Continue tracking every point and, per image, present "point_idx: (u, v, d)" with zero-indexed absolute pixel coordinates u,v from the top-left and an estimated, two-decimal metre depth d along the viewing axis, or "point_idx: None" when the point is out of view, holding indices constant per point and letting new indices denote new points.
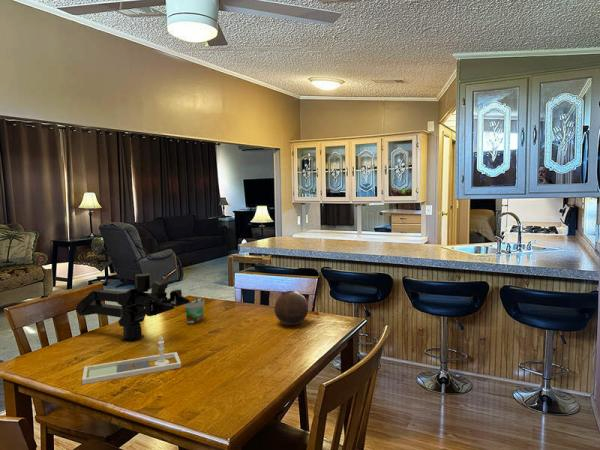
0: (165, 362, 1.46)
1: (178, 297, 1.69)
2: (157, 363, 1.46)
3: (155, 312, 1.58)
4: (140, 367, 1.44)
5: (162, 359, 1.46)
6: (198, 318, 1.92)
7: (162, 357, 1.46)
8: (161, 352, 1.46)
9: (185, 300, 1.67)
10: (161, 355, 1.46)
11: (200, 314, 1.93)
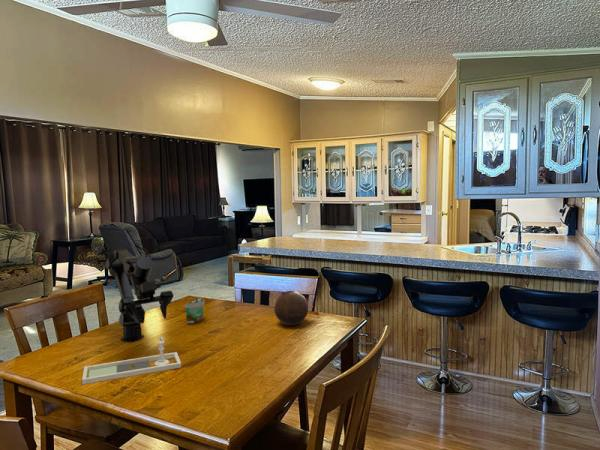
0: (165, 362, 1.46)
1: (162, 304, 1.58)
2: (157, 363, 1.46)
3: (126, 312, 1.52)
4: (140, 367, 1.44)
5: (162, 359, 1.46)
6: (198, 318, 1.92)
7: (162, 357, 1.46)
8: (161, 352, 1.46)
9: (163, 313, 1.56)
10: (161, 355, 1.46)
11: (200, 314, 1.93)
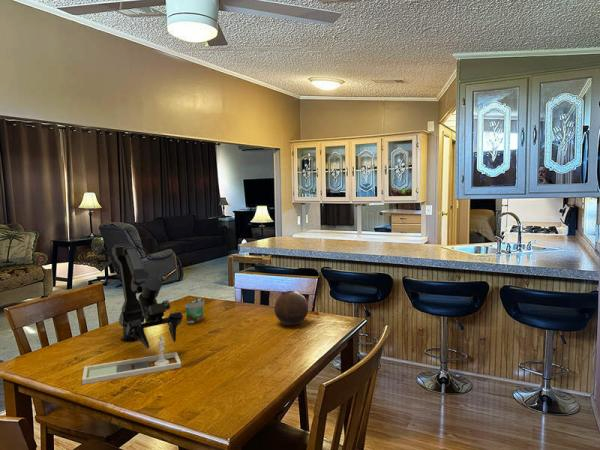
0: (165, 362, 1.46)
1: (171, 326, 1.51)
2: (157, 363, 1.46)
3: (134, 335, 1.46)
4: (140, 367, 1.44)
5: (162, 359, 1.46)
6: (198, 318, 1.92)
7: (162, 357, 1.46)
8: (161, 352, 1.46)
9: (173, 336, 1.49)
10: (161, 355, 1.46)
11: (200, 314, 1.93)
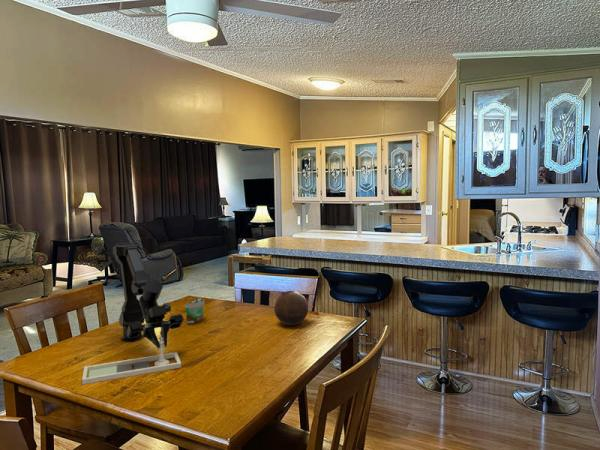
0: (165, 362, 1.46)
1: (163, 330, 1.49)
2: (157, 363, 1.46)
3: (145, 335, 1.47)
4: (140, 367, 1.44)
5: (162, 359, 1.46)
6: (198, 318, 1.92)
7: (162, 357, 1.46)
8: (161, 352, 1.46)
9: (164, 341, 1.47)
10: (161, 355, 1.46)
11: (200, 314, 1.93)
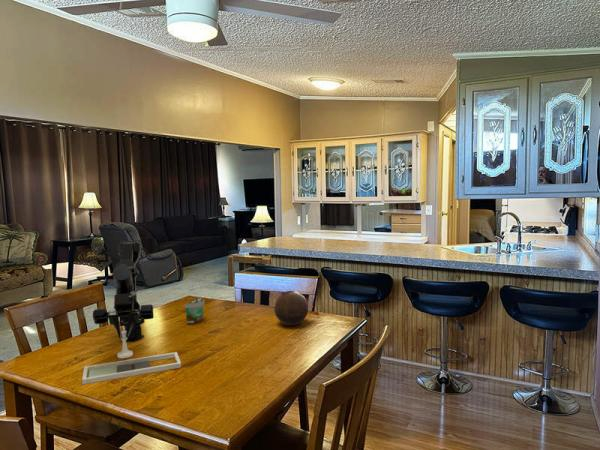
0: (127, 353, 1.40)
1: None
2: (119, 353, 1.40)
3: (112, 323, 1.43)
4: (140, 367, 1.44)
5: (124, 350, 1.40)
6: (198, 318, 1.92)
7: (124, 348, 1.40)
8: (123, 342, 1.40)
9: None
10: (123, 345, 1.40)
11: (200, 314, 1.93)
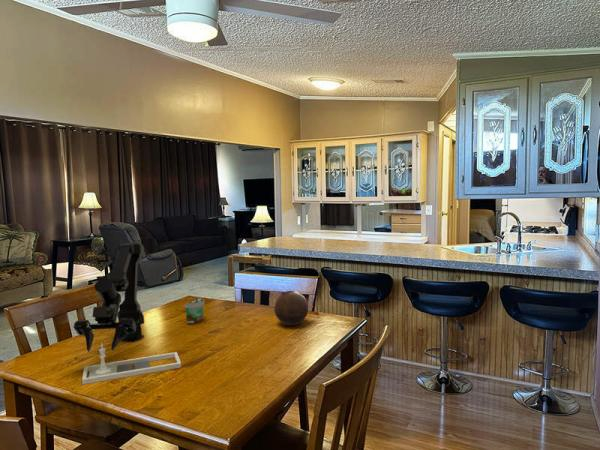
0: (103, 371, 1.38)
1: None
2: (97, 370, 1.39)
3: None
4: (140, 367, 1.44)
5: (102, 367, 1.39)
6: (198, 318, 1.92)
7: (102, 365, 1.39)
8: (101, 360, 1.39)
9: None
10: (101, 363, 1.39)
11: (200, 314, 1.93)
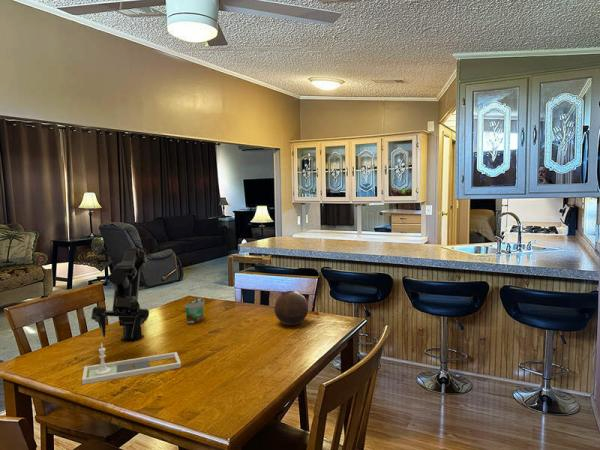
0: (103, 371, 1.38)
1: (134, 322, 1.53)
2: (97, 370, 1.39)
3: (97, 321, 1.50)
4: (140, 367, 1.44)
5: (102, 367, 1.39)
6: (198, 318, 1.92)
7: (102, 365, 1.39)
8: (101, 360, 1.39)
9: (132, 332, 1.51)
10: (101, 363, 1.39)
11: (200, 314, 1.93)
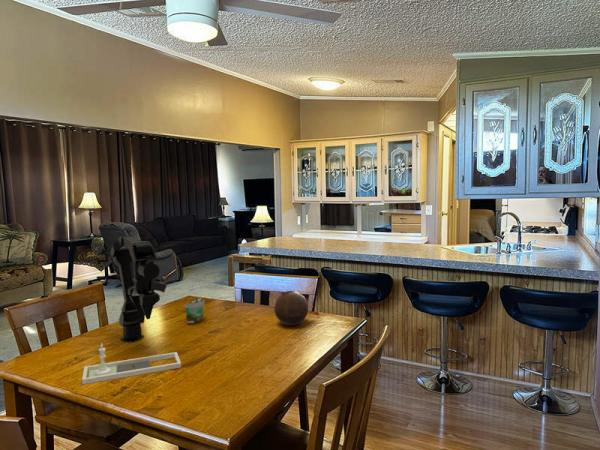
0: (103, 371, 1.38)
1: None
2: (97, 370, 1.39)
3: None
4: (140, 367, 1.44)
5: (102, 367, 1.39)
6: (198, 318, 1.92)
7: (102, 365, 1.39)
8: (101, 360, 1.39)
9: (140, 309, 1.63)
10: (101, 363, 1.39)
11: (200, 314, 1.93)
